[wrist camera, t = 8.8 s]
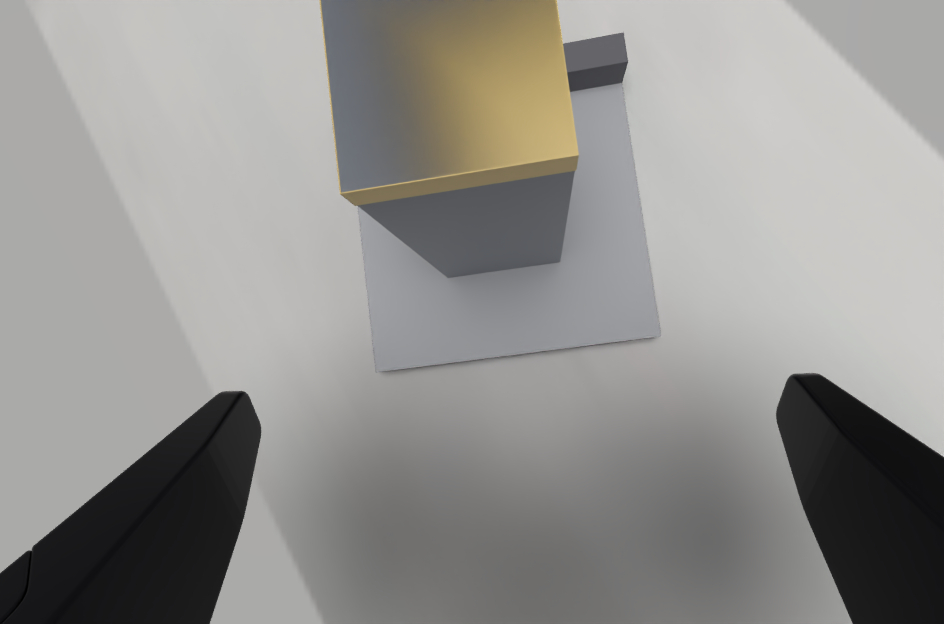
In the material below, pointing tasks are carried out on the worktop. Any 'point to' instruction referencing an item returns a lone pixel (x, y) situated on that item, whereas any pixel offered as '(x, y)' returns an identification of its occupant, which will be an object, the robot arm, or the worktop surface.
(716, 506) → the worktop surface
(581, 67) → the pad
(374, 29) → the grey block
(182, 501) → the robot arm
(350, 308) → the worktop surface
